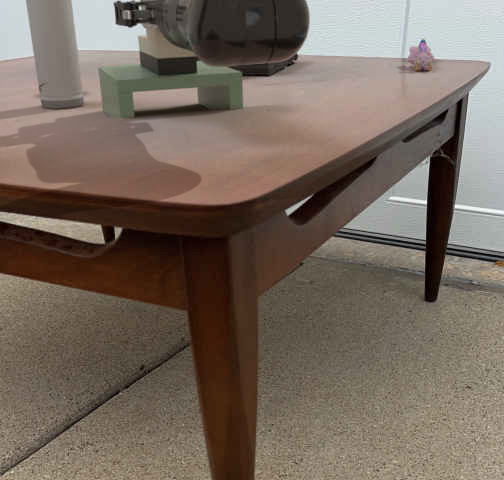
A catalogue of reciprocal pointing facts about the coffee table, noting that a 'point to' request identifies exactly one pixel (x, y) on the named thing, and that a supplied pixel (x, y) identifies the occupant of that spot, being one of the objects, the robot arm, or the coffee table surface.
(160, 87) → the shoe shelf
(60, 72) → the travel mug
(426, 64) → the rabbit figure
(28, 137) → the coffee table surface
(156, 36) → the beige dark-bottomed block
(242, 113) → the coffee table surface
